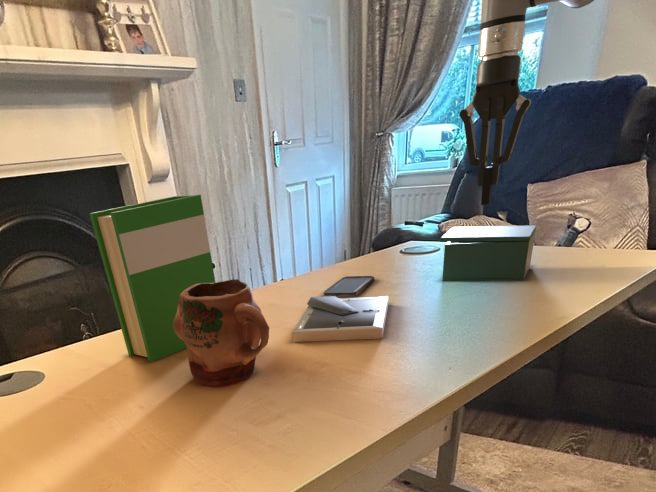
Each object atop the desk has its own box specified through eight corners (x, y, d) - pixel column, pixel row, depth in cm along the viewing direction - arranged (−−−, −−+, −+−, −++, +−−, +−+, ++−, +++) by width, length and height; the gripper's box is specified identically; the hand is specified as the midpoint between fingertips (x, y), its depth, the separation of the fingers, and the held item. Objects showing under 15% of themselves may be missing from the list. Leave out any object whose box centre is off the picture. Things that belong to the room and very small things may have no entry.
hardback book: (151, 363, 95) (113, 212, 81) (129, 357, 99) (89, 213, 86) (224, 334, 104) (200, 194, 91) (200, 329, 109) (174, 196, 95)
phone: (375, 275, 125) (355, 292, 114) (375, 280, 125) (355, 298, 115) (343, 276, 128) (321, 292, 117) (344, 281, 129) (321, 297, 118)
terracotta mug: (304, 375, 82) (296, 280, 74) (251, 405, 75) (236, 304, 67) (216, 357, 94) (201, 273, 86) (163, 382, 87) (142, 293, 79)
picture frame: (311, 310, 111) (293, 343, 95) (311, 296, 109) (291, 327, 93) (388, 306, 107) (382, 340, 91) (388, 291, 106) (382, 323, 89)
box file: (442, 282, 117) (444, 244, 113) (453, 269, 126) (456, 233, 122) (523, 282, 110) (529, 241, 106) (529, 268, 119) (535, 229, 115)
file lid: (440, 241, 113) (440, 237, 113) (452, 230, 122) (452, 226, 121) (529, 240, 106) (530, 236, 105) (535, 229, 114) (536, 225, 114)
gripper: (458, 63, 98) (450, 209, 111) (535, 48, 92) (517, 203, 105) (466, 65, 103) (457, 203, 116) (540, 51, 97) (521, 198, 110)
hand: (485, 203), depth 111 cm, fingers closed
